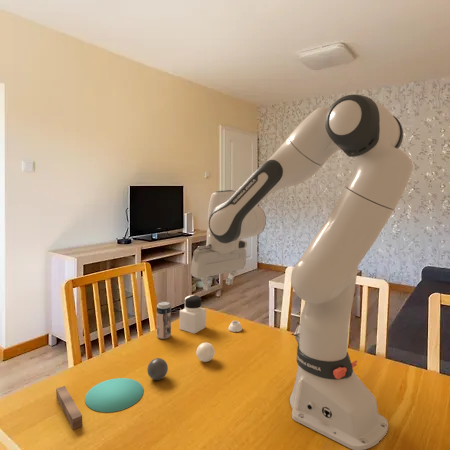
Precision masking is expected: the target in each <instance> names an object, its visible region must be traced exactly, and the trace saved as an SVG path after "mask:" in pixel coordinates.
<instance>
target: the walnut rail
mask: <svg viewBox="0 0 450 450" xmlns="http://www.w3.org/2000/svg"><path fill="white" fill-rule="evenodd" d="M55 391H56V392H55V393H56V394H55V395H56V397H55V398H56V400H57V401H58V402H57V403H58V404H59V406H60V407H61V410H62V411H63V413H64V415H65V417H66V420H67V421H68V424H69V425H70V427H71V429H72V430H73V431H74V430H77V429H79V428H81V427H83V414H82V413H81V411H80V409H79V407H78V405H77V403H76V402H75V400H74V399H73V397H72V396H71V394H70V392H69V390H68V389H67V387H66V386H65V385H63V386H60V387H56V390H55Z"/></svg>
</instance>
